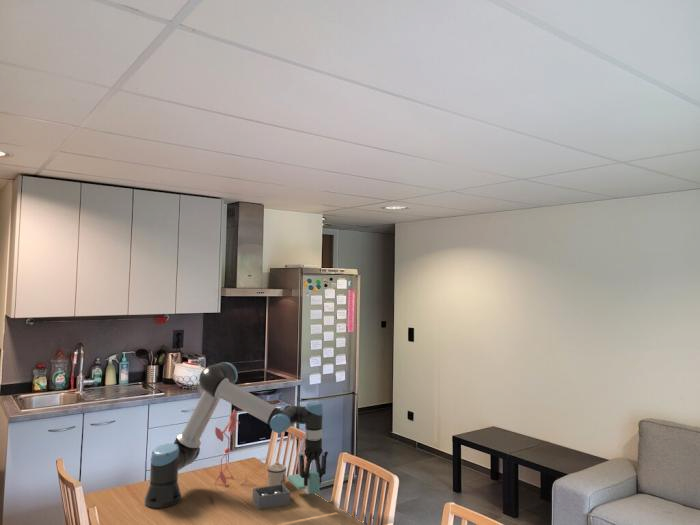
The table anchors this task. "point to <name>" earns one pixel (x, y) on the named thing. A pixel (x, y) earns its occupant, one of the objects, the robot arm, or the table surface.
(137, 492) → the table surface
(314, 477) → the lid
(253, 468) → the table surface
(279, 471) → the teacup with lid
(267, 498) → the tub
